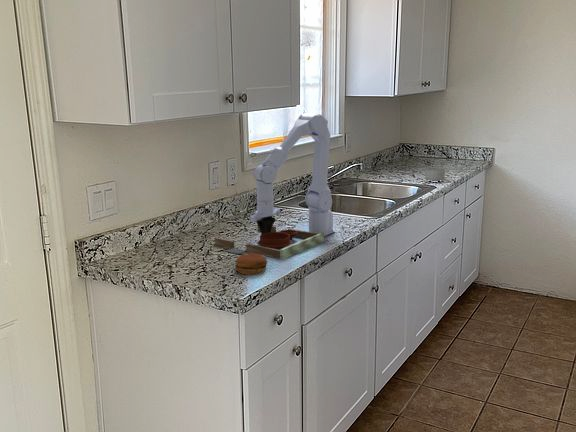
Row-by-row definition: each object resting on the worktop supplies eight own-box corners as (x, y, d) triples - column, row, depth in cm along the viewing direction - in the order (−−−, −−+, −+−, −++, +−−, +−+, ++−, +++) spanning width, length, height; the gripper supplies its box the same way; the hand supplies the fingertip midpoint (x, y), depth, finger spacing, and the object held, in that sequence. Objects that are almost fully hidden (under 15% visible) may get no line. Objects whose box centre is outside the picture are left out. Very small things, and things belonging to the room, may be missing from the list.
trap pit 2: (282, 230, 217) (282, 229, 217) (295, 232, 213) (295, 231, 213) (276, 232, 213) (276, 231, 213) (289, 235, 210) (289, 234, 210)
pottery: (251, 250, 191) (251, 238, 190) (277, 236, 209) (277, 224, 208) (283, 254, 186) (283, 242, 185) (307, 239, 204) (307, 227, 203)
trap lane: (259, 229, 218) (259, 222, 217) (323, 241, 202) (324, 232, 201) (214, 245, 198) (214, 236, 197) (282, 259, 182) (282, 250, 181)
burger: (250, 277, 165) (249, 262, 164) (229, 271, 171) (228, 256, 170) (274, 269, 172) (273, 255, 171) (253, 263, 178) (252, 249, 177)
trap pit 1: (232, 248, 194) (232, 247, 193) (246, 251, 190) (246, 250, 190) (224, 251, 190) (224, 250, 190) (238, 254, 187) (238, 253, 187)
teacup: (440, 184, 309) (441, 169, 307) (421, 182, 315) (422, 168, 313) (448, 180, 321) (449, 166, 319) (429, 179, 326) (430, 165, 324)
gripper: (268, 195, 205) (269, 231, 208) (242, 202, 194) (243, 240, 197) (284, 197, 201) (284, 234, 204) (259, 204, 190) (260, 244, 193)
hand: (265, 237), depth 200 cm, fingers closed
